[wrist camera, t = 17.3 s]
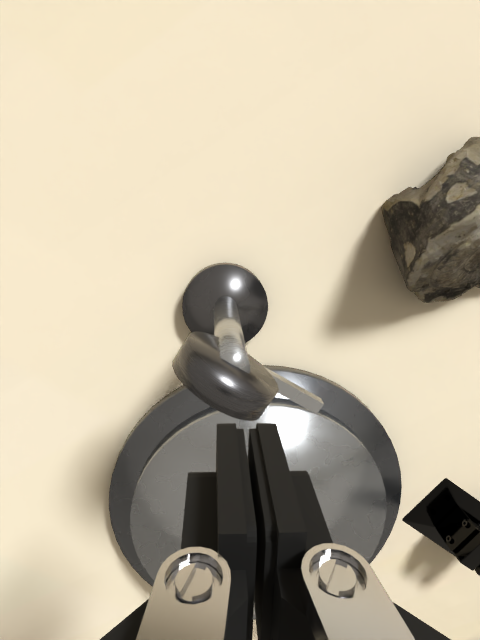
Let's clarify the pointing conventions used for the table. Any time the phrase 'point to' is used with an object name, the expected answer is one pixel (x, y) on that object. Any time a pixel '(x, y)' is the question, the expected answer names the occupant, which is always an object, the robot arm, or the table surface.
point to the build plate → (450, 522)
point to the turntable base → (187, 404)
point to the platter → (200, 456)
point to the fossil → (439, 229)
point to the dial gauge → (230, 345)
